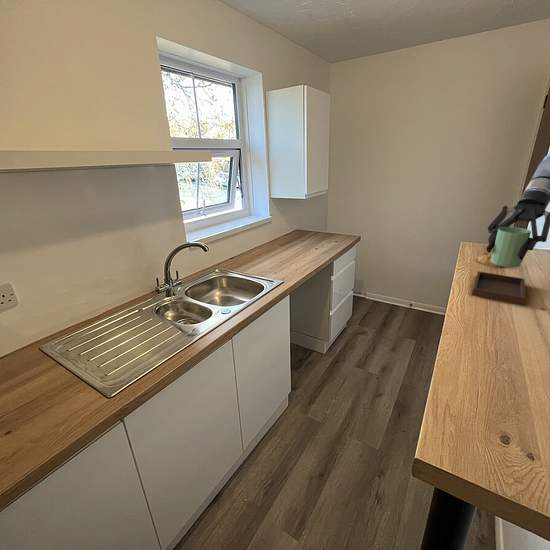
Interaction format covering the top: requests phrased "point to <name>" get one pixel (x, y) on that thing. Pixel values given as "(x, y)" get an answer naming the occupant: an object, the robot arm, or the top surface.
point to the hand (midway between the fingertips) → (503, 253)
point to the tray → (500, 288)
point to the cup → (509, 246)
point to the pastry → (486, 259)
